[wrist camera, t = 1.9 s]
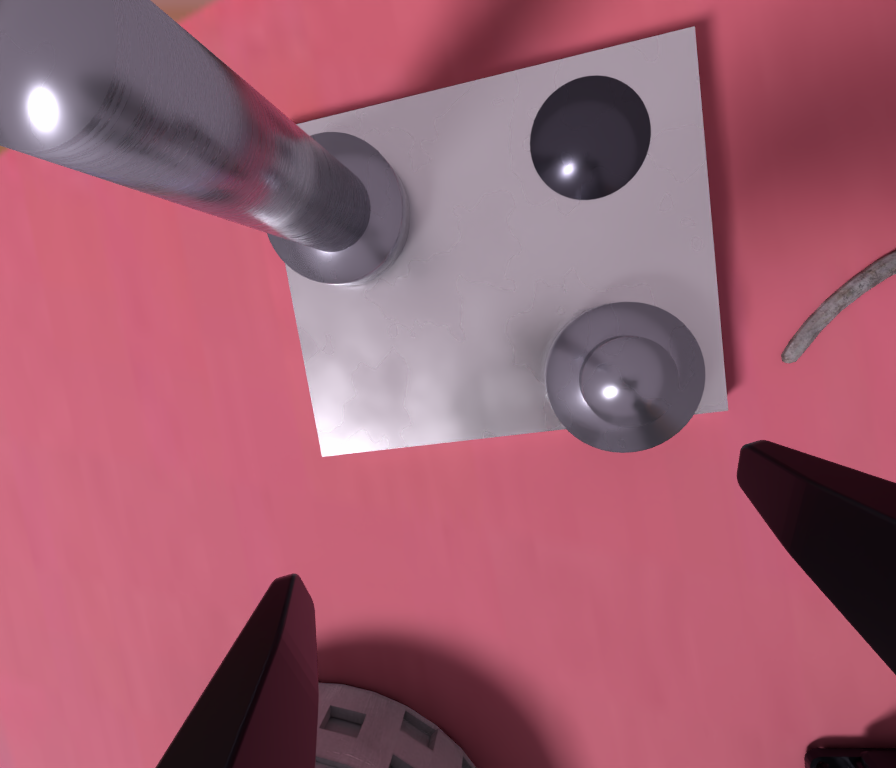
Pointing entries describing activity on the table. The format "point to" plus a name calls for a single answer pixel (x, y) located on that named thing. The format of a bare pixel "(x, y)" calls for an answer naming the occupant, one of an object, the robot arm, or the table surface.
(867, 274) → the pliers
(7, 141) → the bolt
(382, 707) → the ring
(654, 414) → the grey metal knob
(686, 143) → the plate
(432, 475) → the table surface
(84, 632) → the table surface
